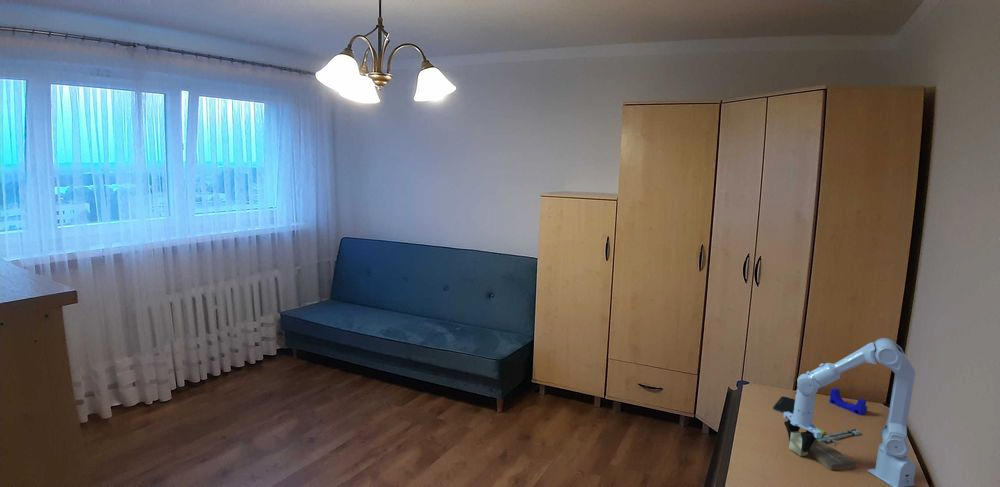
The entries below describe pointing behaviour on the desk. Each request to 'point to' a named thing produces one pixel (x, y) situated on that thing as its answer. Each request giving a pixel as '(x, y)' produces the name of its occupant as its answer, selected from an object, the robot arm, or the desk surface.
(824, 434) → the flamethrower
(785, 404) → the phone
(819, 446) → the brown flat block
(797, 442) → the joiner mallet
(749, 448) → the desk surface
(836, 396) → the blue u-shaped bracket
